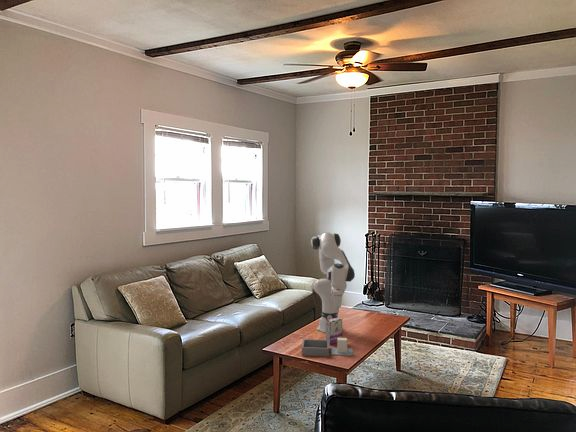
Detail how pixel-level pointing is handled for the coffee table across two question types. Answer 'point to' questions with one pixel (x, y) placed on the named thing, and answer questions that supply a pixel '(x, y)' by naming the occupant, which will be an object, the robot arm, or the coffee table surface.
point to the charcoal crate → (310, 349)
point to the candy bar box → (333, 330)
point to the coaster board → (349, 352)
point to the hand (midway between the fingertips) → (337, 310)
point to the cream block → (342, 345)
